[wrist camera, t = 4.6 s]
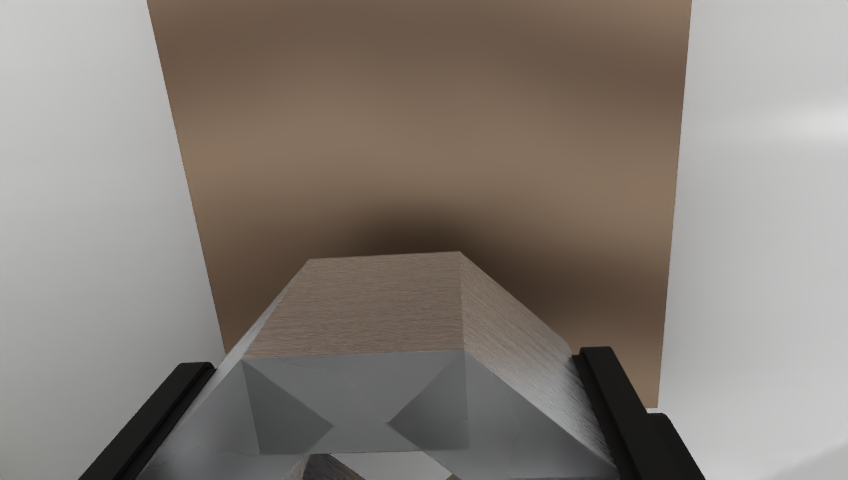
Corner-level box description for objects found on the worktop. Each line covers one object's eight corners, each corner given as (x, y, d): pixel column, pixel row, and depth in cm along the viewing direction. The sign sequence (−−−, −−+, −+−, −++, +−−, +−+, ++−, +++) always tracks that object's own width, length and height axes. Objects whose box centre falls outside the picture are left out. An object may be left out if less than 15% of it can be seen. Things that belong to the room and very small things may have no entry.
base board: (644, 384, 17) (657, 407, 16) (253, 393, 18) (239, 416, 17) (713, -546, 10) (744, -617, 9) (77, -441, 11) (35, -494, 10)
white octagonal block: (417, 581, 13) (405, 768, 9) (174, 416, 11) (62, 564, 8) (637, 401, 11) (721, 554, 7) (376, 181, 10) (336, 247, 6)
